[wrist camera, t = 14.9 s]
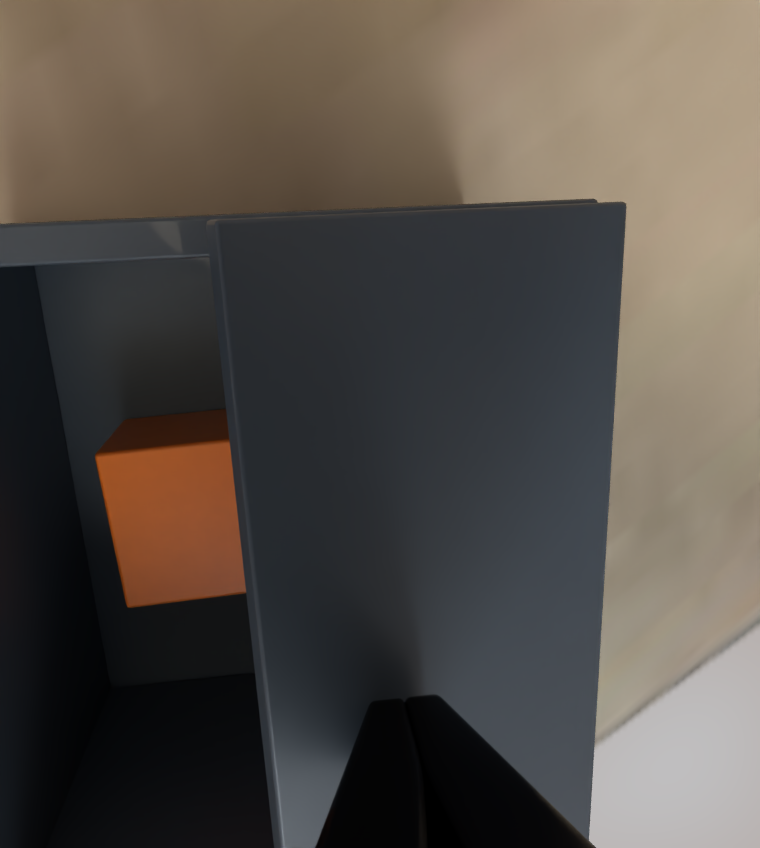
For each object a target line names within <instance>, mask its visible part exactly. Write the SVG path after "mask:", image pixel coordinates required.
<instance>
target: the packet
mask: <svg viewBox="0 0 760 848" xmlns="http://www.w3.org/2000/svg"><path fill="white" fill-rule="evenodd" d="M95 460H96V465H97V470H98V474H99V479H100V484H101V489H102V493H103V498H104V503H105V507H106V512H107V517H108V522H109V526H110V531H111V536H112V540H113V545H114V550H115V554H116V559H117V564H118V569H119V573H120V578H121V583H122V587H123V592H124V597H125V602H126V605H127V607H129V608H133V607H141V606H149V605H157V604H165V603H172V602H180V601H188V600H196V599H204V598H212V597H220V596H228V595H236V594H244V593H246V586H245V577H244V568H243V559H242V550H241V541H240V532H239V522H238V513H237V504H236V495H235V486H234V477H233V468H232V459H231V450H230V440H229V431H228V422H227V413H226V409H220V410H210V411H201V412H191V413H182V414H172V415H163V416H153V417H144V418H134V419H126V420H124V421H123V422H122V423H121V424H120V426H119V427H118V428H117V429H116V430H115V432H114V433H113V434H112V435H111V436H110V437H109V439H108V440H107V441H106V442H105V443H104V444H103V446H102V447H101V448H100V449H99V450H98V451H97V453H96V454H95Z"/></svg>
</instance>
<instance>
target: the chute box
mask: <svg viewBox="0 0 760 848" xmlns="http://www.w3.org/2000/svg"><path fill="white" fill-rule="evenodd" d="M580 203H598V202H597V200H595V199H576V200H552V201H529V202H505V203H481V204H458V205H434V206H411V207H387V208H364V209H340V210H317V211H293V212H269V213H246V214H222V215H199V216H175V217H152V218H128V219H104V220H81V221H57V222H34V223H10V224H0V848H274V842H273V833H272V824H271V814H270V805H269V796H268V787H267V778H266V769H265V760H264V751H263V741H262V732H261V723H260V714H259V705H258V696H257V687H256V678H255V668H254V659H253V650H252V641H251V632H250V623H249V614H248V605H247V595H246V593H244V594H236V595H228V596H220V597H212V598H204V599H196V600H188V601H180V602H172V603H165V604H157V605H149V606H141V607H133V608H129V607H127V605H126V602H125V597H124V592H123V587H122V583H121V578H120V573H119V569H118V564H117V559H116V554H115V550H114V545H113V540H112V536H111V531H110V526H109V522H108V517H107V512H106V507H105V503H104V498H103V493H102V489H101V484H100V479H99V474H98V470H97V465H96V460H95V454H96V453H97V451H98V450H99V449H100V448H101V447H102V446H103V444H104V443H105V442H106V441H107V440H108V439H109V437H110V436H111V435H112V434H113V433H114V432H115V430H116V429H117V428H118V427H119V426H120V424H121V423H122V422H123V421H124V420H126V419H134V418H144V417H153V416H163V415H172V414H182V413H191V412H201V411H210V410H220V409H226V404H225V395H224V386H223V377H222V367H221V358H220V349H219V340H218V331H217V322H216V313H215V304H214V294H213V285H212V276H211V267H210V258H209V249H208V240H207V231H206V224H207V221H209V220H214V219H236V218H259V217H282V216H305V215H328V214H351V213H374V212H397V211H420V210H442V209H465V208H488V207H511V206H534V205H557V204H580Z"/></svg>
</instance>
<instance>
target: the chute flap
mask: <svg viewBox="0 0 760 848" xmlns="http://www.w3.org/2000/svg"><path fill="white" fill-rule="evenodd" d="M625 221H626V203H624V202H603V203H580V204H557V205H534V206H511V207H488V208H465V209H442V210H420V211H397V212H374V213H351V214H328V215H305V216H282V217H259V218H236V219H214V220H209V221H207V224H206V231H207V240H208V249H209V258H210V267H211V276H212V285H213V294H214V304H215V313H216V322H217V331H218V340H219V349H220V358H221V367H222V377H223V386H224V395H225V404H226V413H227V422H228V431H229V440H230V450H231V459H232V468H233V477H234V486H235V495H236V504H237V513H238V522H239V532H240V541H241V550H242V559H243V568H244V577H245V586H246V595H247V605H248V614H249V623H250V632H251V641H252V650H253V659H254V668H255V678H256V687H257V696H258V705H259V714H260V723H261V732H262V741H263V751H264V760H265V769H266V778H267V787H268V796H269V805H270V814H271V824H272V833H273V842H274V848H315V847H316V844H317V841H318V839H319V836H320V833H321V831H322V828H323V825H324V823H325V820H326V817H327V815H328V812H329V809H330V807H331V804H332V801H333V799H334V796H335V794H336V791H337V788H338V786H339V783H340V780H341V778H342V775H343V772H344V770H345V767H346V764H347V762H348V759H349V756H350V754H351V751H352V748H353V746H354V743H355V740H356V738H357V735H358V732H359V730H360V727H361V725H362V722H363V719H364V717H365V714H366V711H367V709H368V706H369V705H370V703H371V702H372V701H375V700H385V699H394V698H401V699H402V700H403V701H404V702H405V700H406V699H407V698H408V697H412V696H421V695H430V694H436V695H439V696H440V697H442V698H443V699H444V700H445V701H446V702H447V703H448V704H449V705H450V706H451V707H452V708H453V709H454V710H455V711H456V712H457V713H458V714H459V715H460V716H461V717H462V718H463V719H464V720H465V721H466V722H467V723H468V724H469V725H470V726H471V727H472V728H473V729H474V730H476V731H477V732H478V733H479V734H480V735H481V736H482V737H483V738H484V739H485V740H486V741H487V742H488V743H489V744H490V745H491V746H492V747H493V748H494V749H495V750H496V751H497V752H498V753H499V754H500V755H501V756H502V757H503V758H504V759H505V760H506V761H507V762H508V763H509V764H510V765H511V766H513V767H514V768H515V769H516V770H517V771H518V772H519V773H520V774H521V775H522V776H523V777H524V778H525V779H526V780H527V781H528V782H529V783H530V784H531V785H532V786H533V787H534V788H535V789H536V790H537V791H538V792H539V793H540V794H541V795H542V796H543V797H544V798H545V799H546V800H547V801H548V802H549V803H551V804H552V805H553V806H554V807H555V808H556V809H557V810H558V811H559V812H560V813H561V814H562V815H563V816H564V817H565V818H566V819H567V820H568V821H569V822H570V823H571V824H572V825H573V826H574V827H575V828H576V829H577V830H578V831H579V832H580V833H581V834H582V835H583V836H584V837H585V838H586V839H587V840H589V826H590V810H591V792H592V776H593V760H594V743H595V726H596V709H597V692H598V675H599V659H600V642H601V625H602V608H603V591H604V574H605V558H606V541H607V524H608V507H609V490H610V473H611V457H612V440H613V423H614V406H615V389H616V373H617V356H618V339H619V322H620V305H621V288H622V272H623V255H624V238H625Z"/></svg>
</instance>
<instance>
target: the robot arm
mask: <svg viewBox="0 0 760 848" xmlns="http://www.w3.org/2000/svg"><path fill="white" fill-rule="evenodd" d="M315 848H596V847H595V846H594V845H592V843H591V842H590V841H589V840H587V839H586V838H585V837H584V836H583V835H582V834H581V833H580V832H579V831H578V830H577V829H576V828H575V827H574V826H573V825H572V824H571V823H570V822H569V821H568V820H567V819H566V818H565V817H564V816H563V815H562V814H561V813H560V812H559V811H558V810H557V809H556V808H555V807H554V806H553V805H552V804H551V803H549V802H548V801H547V800H546V799H545V798H544V797H543V796H542V795H541V794H540V793H539V792H538V791H537V790H536V789H535V788H534V787H533V786H532V785H531V784H530V783H529V782H528V781H527V780H526V779H525V778H524V777H523V776H522V775H521V774H520V773H519V772H518V771H517V770H516V769H515V768H514V767H513V766H511V765H510V764H509V763H508V762H507V761H506V760H505V759H504V758H503V757H502V756H501V755H500V754H499V753H498V752H497V751H496V750H495V749H494V748H493V747H492V746H491V745H490V744H489V743H488V742H487V741H486V740H485V739H484V738H483V737H482V736H481V735H480V734H479V733H478V732H477V731H476V730H474V729H473V728H472V727H471V726H470V725H469V724H468V723H467V722H466V721H465V720H464V719H463V718H462V717H461V716H460V715H459V714H458V713H457V712H456V711H455V710H454V709H453V708H452V707H451V706H450V705H449V704H448V703H447V702H446V701H445V700H444V699H443V698H442V697H440V696H439V695H436V694H430V695H421V696H412V697H408V698H407V699H406V700H405V702H404V701H403V700H402V699H401V698H394V699H385V700H375V701H372V702H371V703H370V705H369V706H368V709H367V711H366V714H365V717H364V719H363V722H362V725H361V727H360V730H359V732H358V735H357V738H356V740H355V743H354V746H353V748H352V751H351V754H350V756H349V759H348V762H347V764H346V767H345V770H344V772H343V775H342V778H341V780H340V783H339V786H338V788H337V791H336V794H335V796H334V799H333V801H332V804H331V807H330V809H329V812H328V815H327V817H326V820H325V823H324V825H323V828H322V831H321V833H320V836H319V839H318V841H317V844H316V847H315Z"/></svg>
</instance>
